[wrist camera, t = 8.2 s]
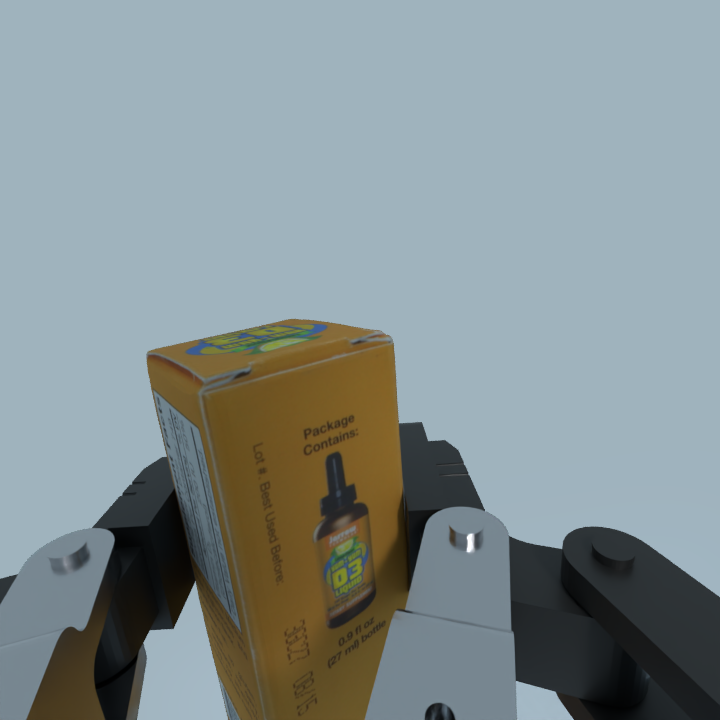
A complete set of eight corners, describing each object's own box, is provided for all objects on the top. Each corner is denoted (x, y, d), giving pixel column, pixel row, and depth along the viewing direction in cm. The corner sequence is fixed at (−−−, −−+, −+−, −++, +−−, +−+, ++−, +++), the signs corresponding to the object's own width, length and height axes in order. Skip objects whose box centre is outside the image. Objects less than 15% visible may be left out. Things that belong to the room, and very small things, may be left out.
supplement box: (337, 657, 12) (302, 307, 10) (425, 768, 10) (415, 330, 7) (223, 743, 11) (137, 337, 8) (294, 908, 8) (204, 384, 5)
